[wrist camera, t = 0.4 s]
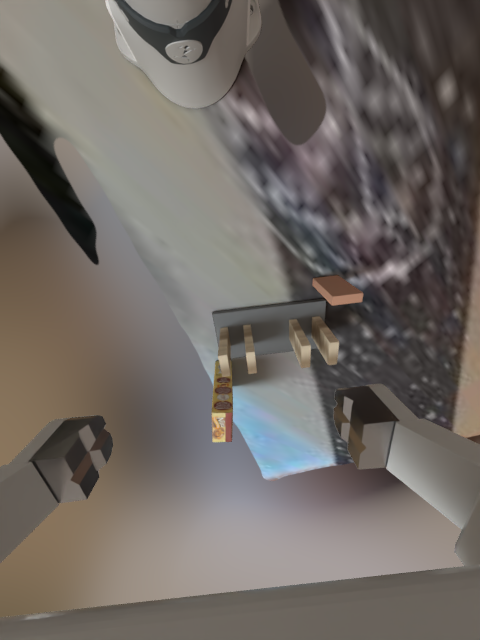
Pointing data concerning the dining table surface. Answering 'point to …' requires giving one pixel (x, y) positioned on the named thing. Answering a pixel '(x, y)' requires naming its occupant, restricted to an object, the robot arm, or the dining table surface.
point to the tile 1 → (224, 352)
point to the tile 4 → (299, 343)
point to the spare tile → (337, 290)
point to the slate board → (268, 325)
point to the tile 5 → (325, 340)
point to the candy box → (222, 406)
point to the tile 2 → (249, 349)
